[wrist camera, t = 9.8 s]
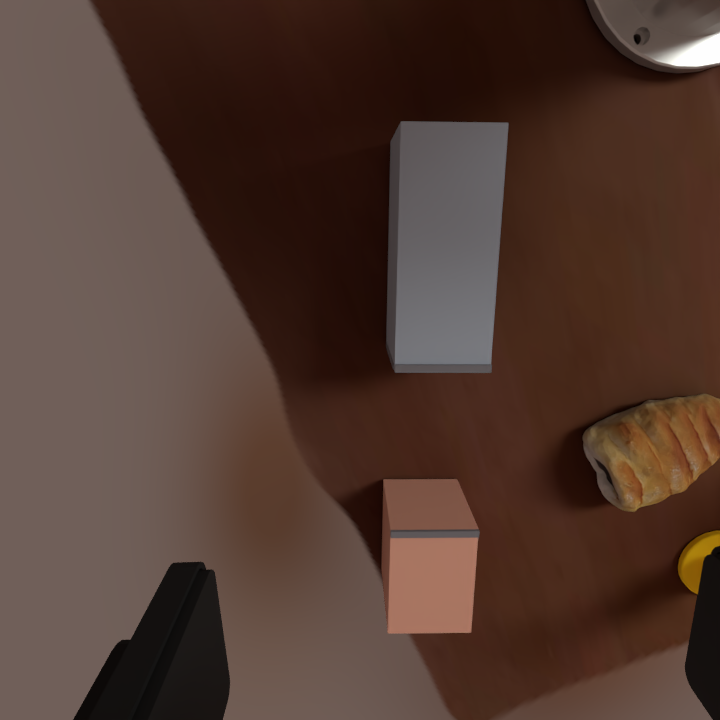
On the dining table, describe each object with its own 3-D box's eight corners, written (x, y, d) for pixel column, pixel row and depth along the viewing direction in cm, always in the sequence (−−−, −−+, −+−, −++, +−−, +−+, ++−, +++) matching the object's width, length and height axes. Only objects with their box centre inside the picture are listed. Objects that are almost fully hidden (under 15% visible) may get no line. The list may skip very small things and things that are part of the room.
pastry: (700, 363, 34) (743, 381, 30) (731, 446, 36) (776, 472, 32) (568, 429, 35) (595, 453, 31) (605, 507, 37) (634, 539, 33)
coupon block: (389, 141, 30) (400, 120, 24) (477, 142, 30) (509, 121, 24) (385, 345, 33) (393, 372, 27) (465, 345, 33) (491, 372, 27)
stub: (383, 479, 35) (390, 531, 29) (457, 479, 35) (479, 531, 29) (381, 569, 37) (388, 636, 31) (451, 568, 37) (471, 635, 31)
